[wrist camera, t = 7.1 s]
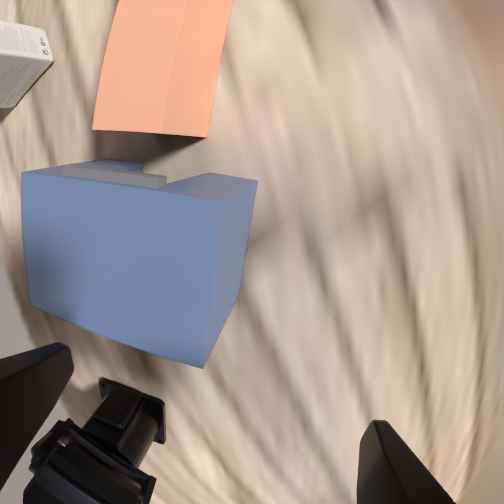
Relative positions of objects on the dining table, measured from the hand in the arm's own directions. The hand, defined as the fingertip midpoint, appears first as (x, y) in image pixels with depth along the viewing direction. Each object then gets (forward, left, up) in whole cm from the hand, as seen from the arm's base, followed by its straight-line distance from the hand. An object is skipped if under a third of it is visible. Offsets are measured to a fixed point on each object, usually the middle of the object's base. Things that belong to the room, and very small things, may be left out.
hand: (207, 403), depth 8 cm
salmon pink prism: (+13, +6, -12) cm, 18 cm away
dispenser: (+1, +6, -12) cm, 13 cm away
